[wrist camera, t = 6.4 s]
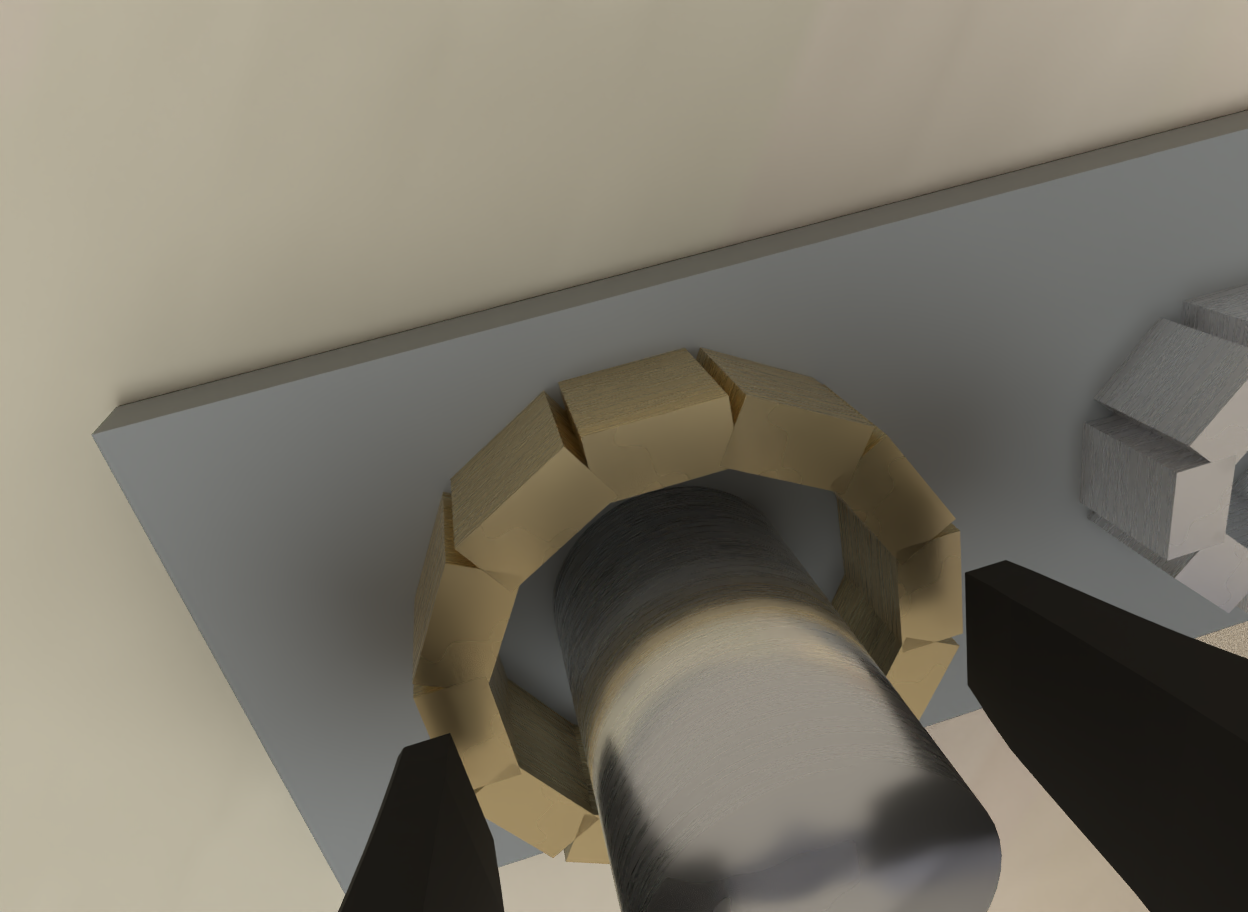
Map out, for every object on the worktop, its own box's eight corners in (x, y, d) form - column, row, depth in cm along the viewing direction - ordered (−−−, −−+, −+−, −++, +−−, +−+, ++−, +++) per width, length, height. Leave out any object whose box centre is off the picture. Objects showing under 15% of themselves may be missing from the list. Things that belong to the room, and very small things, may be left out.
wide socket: (880, 294, 13) (954, 332, 11) (907, 694, 16) (966, 772, 14) (346, 440, 12) (332, 506, 10) (500, 826, 15) (510, 926, 14)
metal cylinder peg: (769, 454, 13) (997, 717, 8) (800, 648, 15) (1004, 966, 10) (523, 530, 13) (591, 858, 8) (586, 719, 15) (676, 1090, 9)
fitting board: (1461, 54, 14) (1531, 53, 13) (1349, 547, 19) (1395, 572, 18) (116, 406, 12) (91, 434, 11) (360, 868, 16) (356, 914, 16)
